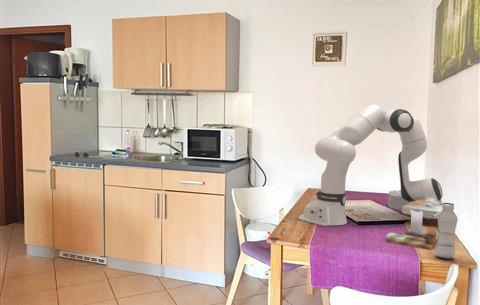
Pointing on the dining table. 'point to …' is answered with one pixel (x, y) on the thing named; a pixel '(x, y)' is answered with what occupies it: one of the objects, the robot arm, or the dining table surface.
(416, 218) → the spacer sleeve
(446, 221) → the plastic bottle
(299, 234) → the dining table surface
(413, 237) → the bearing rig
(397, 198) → the lumpy-topped squat cylinder
